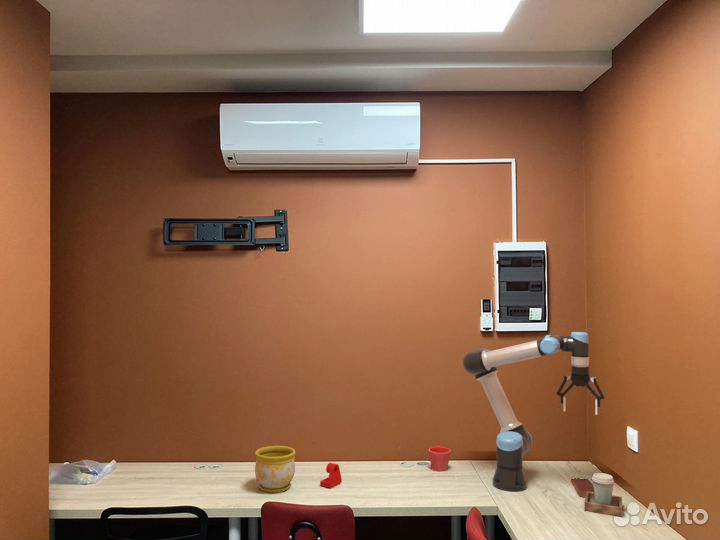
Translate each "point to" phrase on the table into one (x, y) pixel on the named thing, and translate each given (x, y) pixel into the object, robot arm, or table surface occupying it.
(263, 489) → the flowerpot
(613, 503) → the wood rimmed frame
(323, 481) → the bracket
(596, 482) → the coffee cup
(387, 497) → the table surface
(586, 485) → the wooden tablet
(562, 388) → the robot arm
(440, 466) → the flower pot
